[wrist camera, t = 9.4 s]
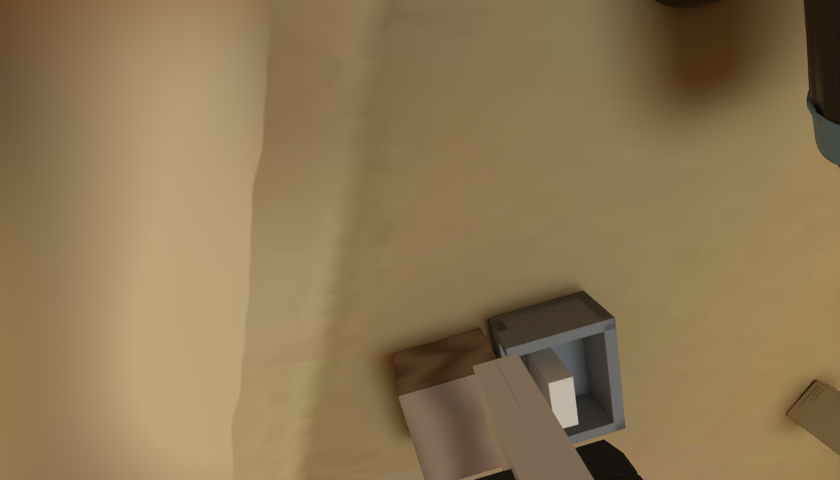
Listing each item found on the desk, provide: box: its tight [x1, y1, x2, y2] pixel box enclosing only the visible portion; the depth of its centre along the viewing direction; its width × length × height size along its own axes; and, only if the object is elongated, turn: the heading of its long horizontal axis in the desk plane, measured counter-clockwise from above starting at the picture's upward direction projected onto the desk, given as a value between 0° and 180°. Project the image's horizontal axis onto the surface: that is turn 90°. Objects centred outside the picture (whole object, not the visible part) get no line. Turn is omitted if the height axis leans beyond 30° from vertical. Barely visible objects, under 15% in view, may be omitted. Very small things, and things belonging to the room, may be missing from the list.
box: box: [488, 291, 625, 444], centre depth 46 cm, size 11×14×6 cm
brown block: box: [393, 329, 502, 480], centre depth 45 cm, size 10×12×7 cm
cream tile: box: [527, 347, 578, 428], centre depth 45 cm, size 6×6×2 cm
